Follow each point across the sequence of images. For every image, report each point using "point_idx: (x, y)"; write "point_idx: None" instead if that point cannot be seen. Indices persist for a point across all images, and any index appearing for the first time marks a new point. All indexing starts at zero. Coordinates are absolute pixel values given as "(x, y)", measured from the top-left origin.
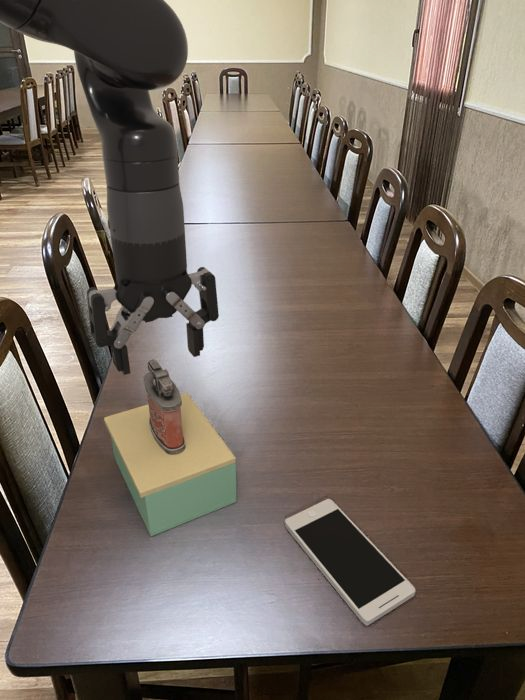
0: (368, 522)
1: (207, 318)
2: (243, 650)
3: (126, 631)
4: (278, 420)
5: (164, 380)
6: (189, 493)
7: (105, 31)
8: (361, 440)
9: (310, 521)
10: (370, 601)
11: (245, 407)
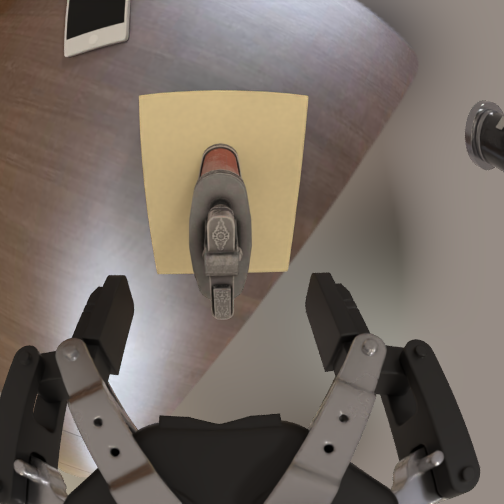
0: (53, 25)
1: (47, 362)
2: None
3: (343, 15)
4: (64, 210)
5: (222, 239)
6: None
7: None
8: (3, 144)
9: (101, 29)
10: None
11: (93, 248)
